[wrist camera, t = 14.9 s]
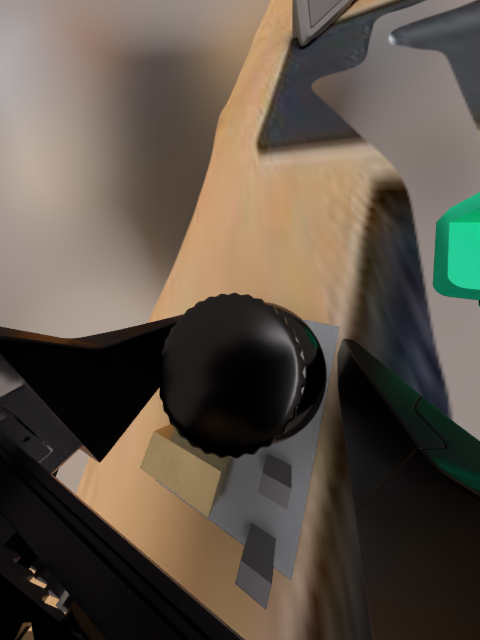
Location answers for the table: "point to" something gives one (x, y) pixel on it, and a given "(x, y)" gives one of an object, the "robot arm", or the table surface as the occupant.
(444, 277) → the camera mount
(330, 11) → the digital clock
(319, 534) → the table surface
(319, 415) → the dock board
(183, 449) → the bar
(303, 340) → the supplement bottle
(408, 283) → the table surface
